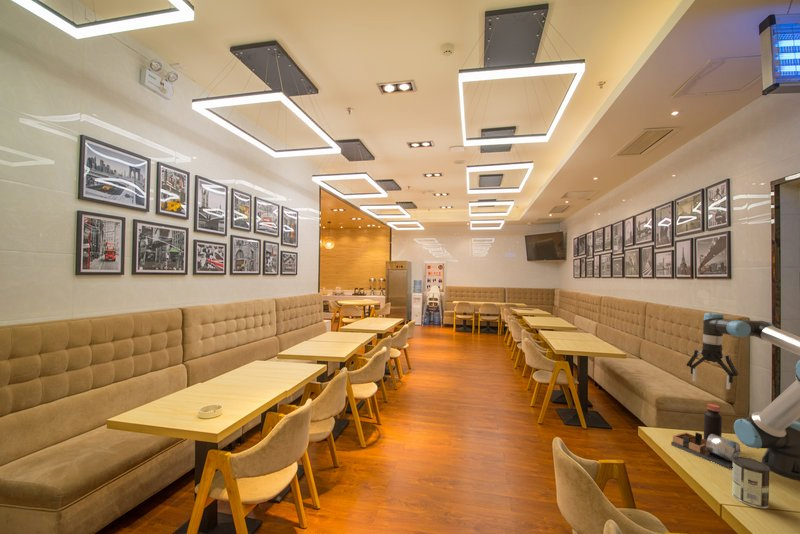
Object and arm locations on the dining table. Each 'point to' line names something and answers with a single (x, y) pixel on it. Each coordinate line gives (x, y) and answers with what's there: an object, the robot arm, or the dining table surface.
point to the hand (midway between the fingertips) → (710, 384)
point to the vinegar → (712, 421)
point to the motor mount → (708, 447)
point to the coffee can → (750, 482)
